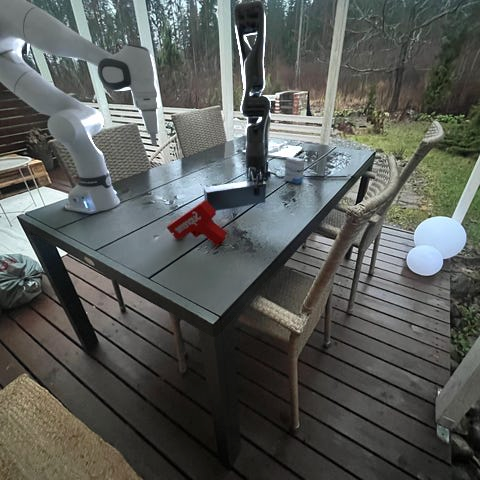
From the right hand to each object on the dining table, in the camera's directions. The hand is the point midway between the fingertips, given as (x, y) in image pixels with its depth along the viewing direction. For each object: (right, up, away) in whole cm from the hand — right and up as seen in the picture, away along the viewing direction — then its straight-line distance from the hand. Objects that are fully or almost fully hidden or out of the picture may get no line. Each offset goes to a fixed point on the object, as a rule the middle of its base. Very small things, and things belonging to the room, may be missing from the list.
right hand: (254, 192), depth 116 cm
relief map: (+18, +43, +78) cm, 91 cm away
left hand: (-39, +17, -14) cm, 44 cm away
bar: (-8, -5, 0) cm, 9 cm away
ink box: (+22, +11, +27) cm, 37 cm away
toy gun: (-21, -20, -20) cm, 36 cm away
